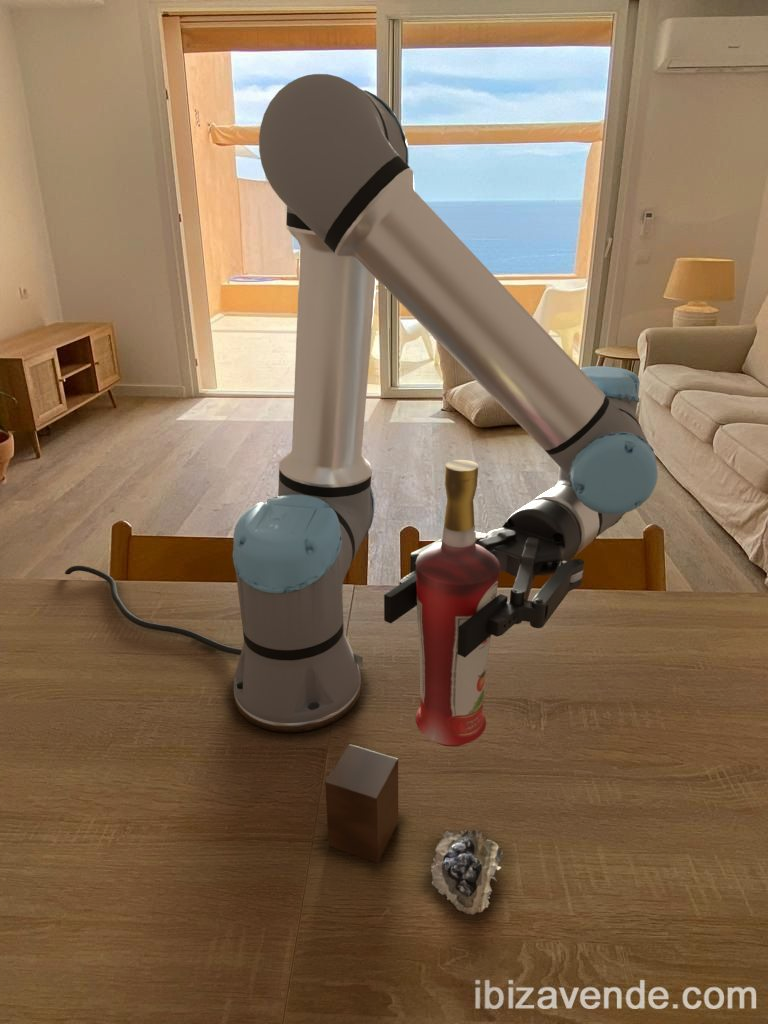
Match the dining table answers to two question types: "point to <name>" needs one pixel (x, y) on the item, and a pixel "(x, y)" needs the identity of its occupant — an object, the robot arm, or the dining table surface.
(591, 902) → the dining table surface
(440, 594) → the liquor
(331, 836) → the walnut block
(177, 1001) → the dining table surface
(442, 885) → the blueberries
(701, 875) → the dining table surface
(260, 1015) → the dining table surface
